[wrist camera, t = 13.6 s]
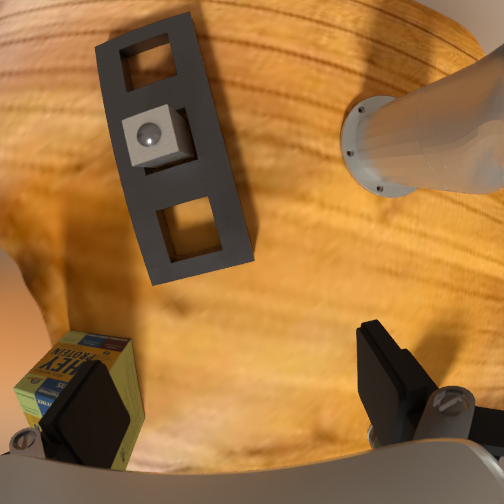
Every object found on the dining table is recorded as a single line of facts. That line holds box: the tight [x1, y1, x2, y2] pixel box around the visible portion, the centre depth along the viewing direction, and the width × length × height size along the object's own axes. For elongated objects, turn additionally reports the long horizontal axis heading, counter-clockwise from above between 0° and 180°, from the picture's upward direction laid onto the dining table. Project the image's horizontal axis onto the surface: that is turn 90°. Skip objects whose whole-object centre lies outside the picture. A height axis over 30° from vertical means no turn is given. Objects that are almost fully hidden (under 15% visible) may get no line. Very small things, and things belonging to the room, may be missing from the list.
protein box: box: [14, 330, 145, 470], centre depth 34 cm, size 10×15×16 cm
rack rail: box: [95, 12, 255, 286], centre depth 33 cm, size 12×30×3 cm, turn 14°
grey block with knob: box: [122, 104, 195, 168], centre depth 30 cm, size 4×4×9 cm
